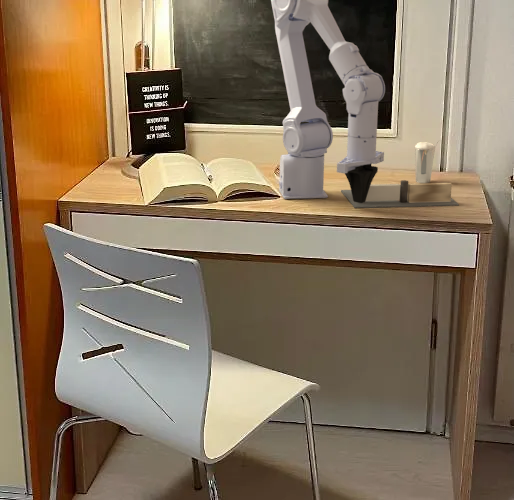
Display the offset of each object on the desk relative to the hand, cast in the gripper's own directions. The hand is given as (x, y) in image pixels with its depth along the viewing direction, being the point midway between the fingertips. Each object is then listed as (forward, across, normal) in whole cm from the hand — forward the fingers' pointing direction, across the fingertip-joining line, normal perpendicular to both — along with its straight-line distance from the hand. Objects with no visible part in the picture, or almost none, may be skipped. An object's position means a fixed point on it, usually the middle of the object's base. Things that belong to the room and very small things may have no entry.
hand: (359, 201), depth 183 cm
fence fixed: (+1, +13, -8) cm, 15 cm away
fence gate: (+1, +6, -1) cm, 6 cm away
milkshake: (+2, +30, +1) cm, 30 cm away
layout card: (+2, +13, -2) cm, 13 cm away
